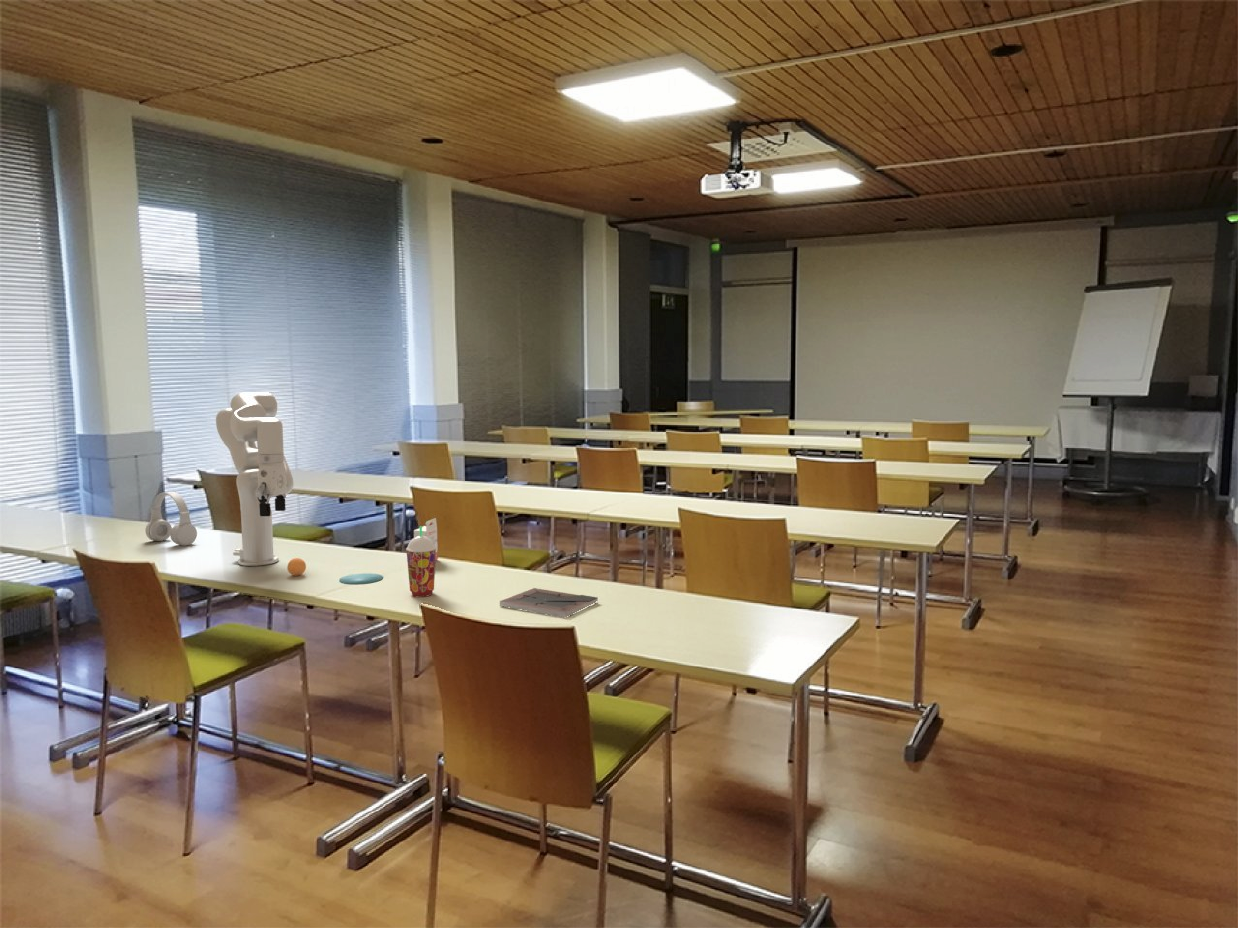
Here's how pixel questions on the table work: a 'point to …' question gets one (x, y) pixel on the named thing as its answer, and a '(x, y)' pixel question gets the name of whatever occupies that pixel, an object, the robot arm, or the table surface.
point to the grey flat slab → (549, 602)
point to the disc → (361, 578)
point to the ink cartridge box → (429, 533)
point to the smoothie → (421, 565)
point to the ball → (296, 566)
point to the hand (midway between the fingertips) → (272, 513)
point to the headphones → (162, 529)
